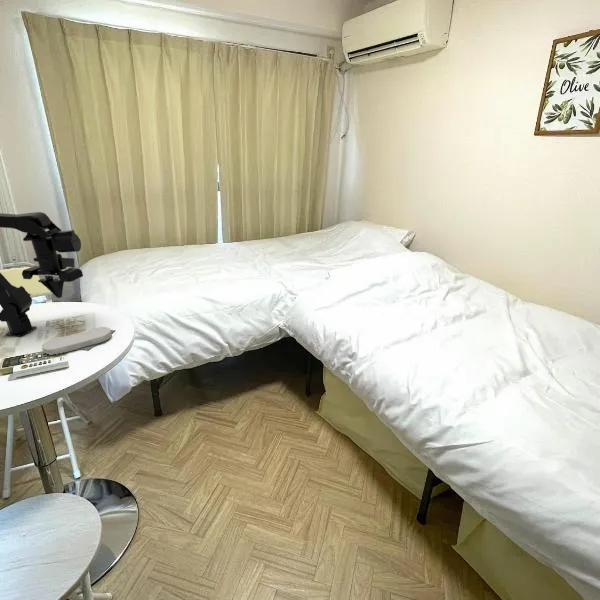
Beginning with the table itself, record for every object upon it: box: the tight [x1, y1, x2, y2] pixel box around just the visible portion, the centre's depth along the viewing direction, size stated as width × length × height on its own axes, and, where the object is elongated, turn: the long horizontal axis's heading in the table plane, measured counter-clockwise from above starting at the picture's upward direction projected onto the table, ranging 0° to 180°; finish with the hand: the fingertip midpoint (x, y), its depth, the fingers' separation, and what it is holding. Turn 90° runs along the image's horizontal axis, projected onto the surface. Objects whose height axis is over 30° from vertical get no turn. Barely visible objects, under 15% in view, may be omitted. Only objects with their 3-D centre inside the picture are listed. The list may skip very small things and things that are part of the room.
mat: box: [78, 329, 116, 351], centre depth 125 cm, size 8×13×1 cm, turn 167°
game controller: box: [41, 326, 113, 356], centre depth 121 cm, size 20×2×8 cm
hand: (59, 297), depth 127 cm, fingers closed
